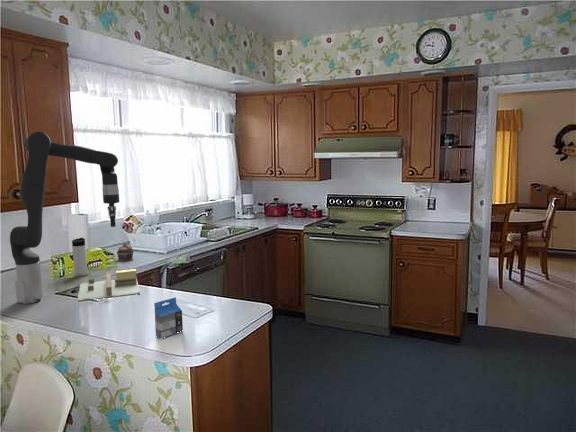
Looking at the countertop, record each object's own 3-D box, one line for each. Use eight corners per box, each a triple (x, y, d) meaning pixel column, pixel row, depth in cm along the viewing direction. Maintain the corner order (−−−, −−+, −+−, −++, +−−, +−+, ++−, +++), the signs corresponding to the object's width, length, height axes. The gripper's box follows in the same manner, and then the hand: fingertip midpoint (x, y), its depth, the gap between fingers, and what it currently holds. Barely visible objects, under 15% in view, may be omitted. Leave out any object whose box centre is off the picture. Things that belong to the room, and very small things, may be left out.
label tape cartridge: (161, 339, 153) (159, 305, 151) (155, 336, 155) (153, 303, 154) (183, 332, 159) (181, 299, 157) (177, 329, 162) (175, 297, 160)
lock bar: (117, 284, 213) (116, 272, 212) (116, 282, 216) (116, 271, 215) (136, 282, 216) (135, 270, 216) (136, 280, 220) (135, 269, 219)
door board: (140, 294, 202) (139, 283, 201) (77, 302, 192) (76, 291, 191) (136, 279, 226) (135, 269, 225) (80, 285, 216) (79, 275, 215)
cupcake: (117, 258, 271) (116, 242, 269) (134, 257, 274) (133, 241, 272) (116, 262, 262) (115, 245, 260) (133, 260, 265) (132, 244, 263)
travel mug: (90, 274, 236) (87, 237, 233) (83, 277, 229) (80, 240, 226) (79, 274, 237) (76, 237, 234) (72, 277, 230) (69, 240, 227)
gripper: (119, 194, 215) (121, 227, 217) (118, 191, 228) (120, 222, 230) (102, 195, 212) (105, 228, 214) (102, 192, 225) (105, 223, 227)
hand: (113, 225), depth 222 cm, fingers open, 8 cm apart
